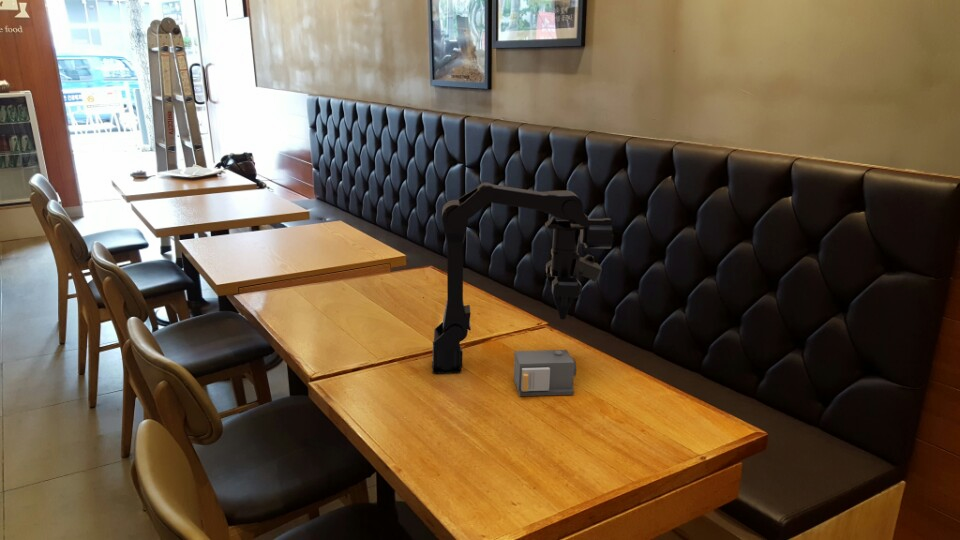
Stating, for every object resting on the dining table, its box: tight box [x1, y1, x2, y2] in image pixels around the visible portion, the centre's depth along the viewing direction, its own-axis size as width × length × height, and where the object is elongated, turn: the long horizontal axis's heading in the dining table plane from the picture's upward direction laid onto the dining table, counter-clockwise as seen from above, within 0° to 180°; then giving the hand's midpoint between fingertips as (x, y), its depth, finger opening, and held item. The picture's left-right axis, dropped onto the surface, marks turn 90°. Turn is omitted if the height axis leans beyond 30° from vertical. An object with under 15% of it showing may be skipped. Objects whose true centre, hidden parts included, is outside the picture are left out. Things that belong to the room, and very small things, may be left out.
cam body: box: [513, 349, 577, 397], centre depth 150 cm, size 13×8×8 cm, turn 96°
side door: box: [521, 367, 550, 391], centre depth 145 cm, size 6×2×5 cm, turn 96°
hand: (560, 312), depth 157 cm, fingers open, 9 cm apart
